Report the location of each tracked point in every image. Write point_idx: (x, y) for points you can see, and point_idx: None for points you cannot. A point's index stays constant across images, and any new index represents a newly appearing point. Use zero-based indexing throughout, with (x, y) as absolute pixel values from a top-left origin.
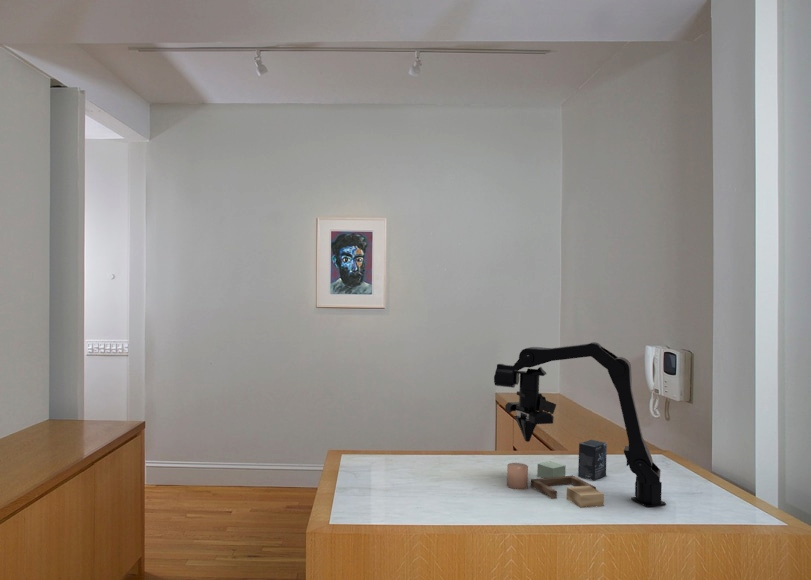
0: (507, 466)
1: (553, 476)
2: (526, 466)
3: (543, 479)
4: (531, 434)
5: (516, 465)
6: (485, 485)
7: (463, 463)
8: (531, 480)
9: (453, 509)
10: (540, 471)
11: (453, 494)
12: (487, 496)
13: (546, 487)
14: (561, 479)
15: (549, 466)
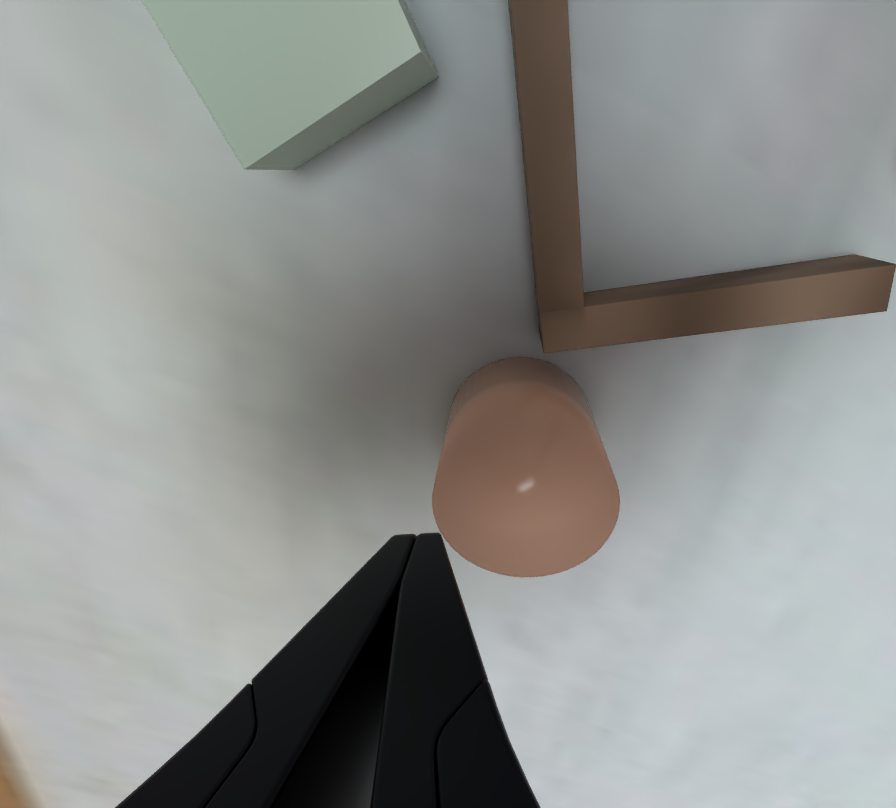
0: (502, 568)
1: (430, 61)
2: (561, 446)
3: (566, 244)
4: (469, 630)
5: (514, 513)
6: (478, 579)
7: (75, 554)
8: (554, 350)
9: (764, 778)
10: (303, 151)
11: (582, 730)
12: (653, 627)
13: (774, 314)
14: (568, 25)
15: (341, 63)
